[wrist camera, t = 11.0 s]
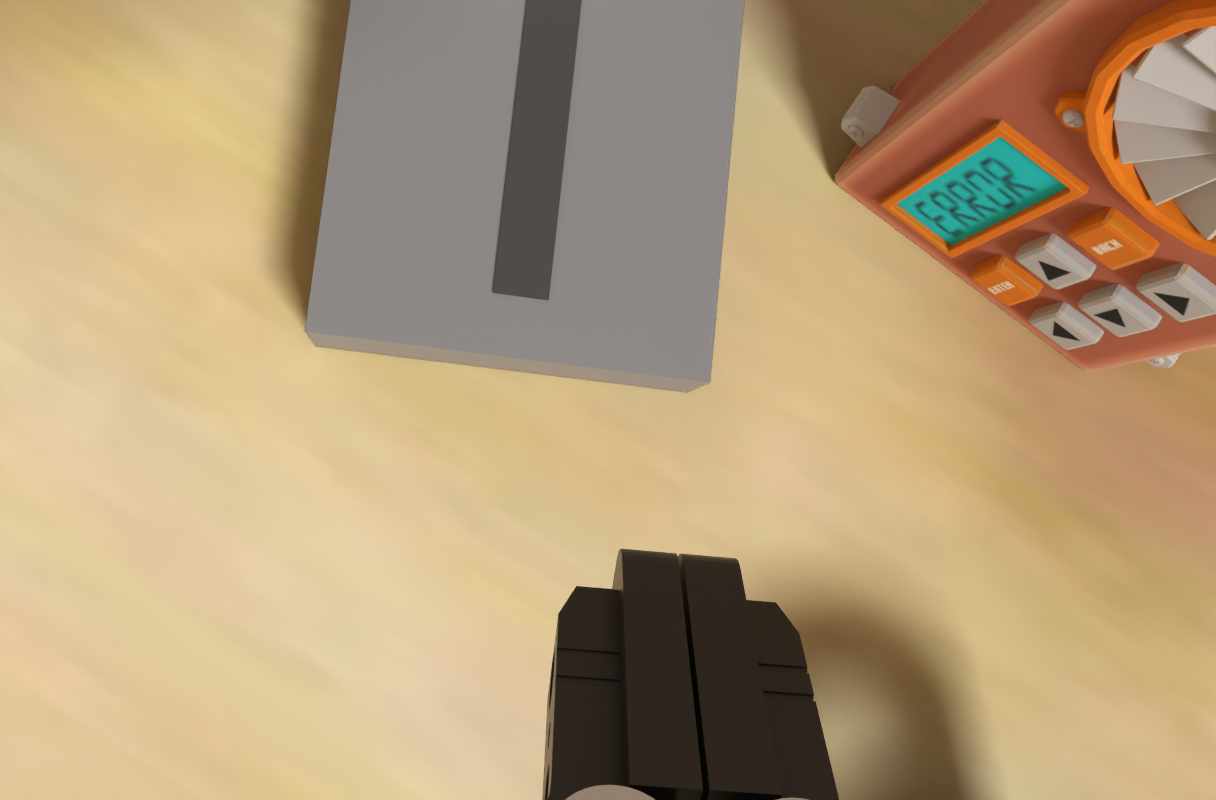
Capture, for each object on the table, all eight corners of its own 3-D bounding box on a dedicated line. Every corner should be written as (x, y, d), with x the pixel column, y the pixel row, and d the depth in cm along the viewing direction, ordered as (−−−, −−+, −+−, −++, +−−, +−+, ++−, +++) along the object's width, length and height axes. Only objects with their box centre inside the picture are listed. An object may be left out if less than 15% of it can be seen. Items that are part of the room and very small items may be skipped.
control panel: (1103, 409, 39) (792, 177, 38) (1186, 267, 41) (888, 37, 39) (1868, 299, 18) (1233, -225, 17) (1991, 12, 20) (1407, -495, 18)
